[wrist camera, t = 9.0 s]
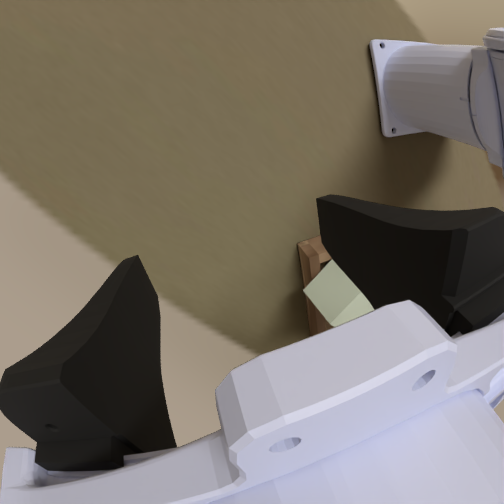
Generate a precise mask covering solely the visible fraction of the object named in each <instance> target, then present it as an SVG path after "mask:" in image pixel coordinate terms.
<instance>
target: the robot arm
mask: <svg viewBox="0 0 504 504" xmlns="http://www.w3.org/2000/svg"><path fill="white" fill-rule="evenodd" d="M483 42H484V45H485V46H474V45H437V44H430V43H421V42H410V41H397V40H371V41H370V51H371V56H372V61H373V67H374V73H375V79H376V86H377V93H378V100H379V108H380V117H381V126H382V133H383V135H384V136H385V137H394V136H400V135H406V134H412V133H418V132H425V131H427V132H431V133H434V134H437V135H441V136H444V137H447V138H450V139H454V140H457V141H460V142H463V143H466V144H469V145H472V146H474V147H477V148H480V149H483V150H485V151H487V153H488V157H489V162H490V163H492V164H495V165H497V166H499V167H502V173H503V178H504V28H491V29H489V30H488V31H487V33H486V35H484V36H483ZM380 44H381V45H382V48H381V47H380ZM392 128H393V129H394V130H393V132H392ZM316 201H317V209H318V217H319V225H320V234H321V243H322V244H323V246H324V247H325V249H326V251H327V252H328V254H329V255H330V257H331V258H332V259H333V261H334V262H335V263H336V264H337V265H338V266H339V268H340V269H341V270H342V271H343V272H344V273H345V274H346V275H347V277H348V278H349V279H350V280H351V281H352V282H353V283H354V284H355V286H356V287H357V288H358V289H359V290H360V291H361V292H362V293H363V295H364V296H365V297H366V298H367V300H368V301H369V302H370V304H371V305H372V307H373V308H374V310H373V311H371V312H369V313H367V314H364V315H362V316H360V317H357V318H355V319H353V320H350V321H348V322H346V323H343V324H341V325H338V326H336V327H334V328H331V329H329V330H326V331H324V332H321V333H319V334H316V335H313V336H311V337H308V338H306V339H303V340H300V341H298V342H295V343H292V344H289V345H287V346H284V347H281V348H278V349H275V350H273V351H270V352H267V353H264V354H261V355H259V356H257V357H255V358H253V359H251V360H249V361H247V362H245V363H244V364H241V365H240V366H238V367H236V368H234V369H233V370H231V371H230V372H229V374H228V375H227V376H226V377H225V379H224V380H223V381H222V382H221V383H220V385H219V386H218V387H217V388H216V389H215V394H216V406H217V411H218V415H219V420H220V424H221V429H220V430H218V431H216V432H214V433H211V434H209V435H207V436H204V437H202V438H200V439H198V440H195V441H193V442H191V443H188V444H186V445H183V446H181V447H177V445H176V442H175V439H174V435H173V431H172V427H171V423H170V419H169V414H168V410H167V405H166V400H165V395H164V388H163V382H162V375H161V363H160V310H159V302H158V296H157V294H156V292H155V290H154V288H153V285H152V283H151V281H150V279H149V277H148V275H147V273H146V271H145V269H144V267H143V265H142V262H141V260H140V258H139V256H138V255H136V256H133V257H130V258H127V259H125V260H123V261H122V262H121V263H120V264H119V265H118V266H117V267H116V269H115V270H114V271H113V272H112V274H111V275H110V276H109V277H108V279H107V280H106V281H105V282H104V284H103V285H102V286H101V288H100V289H99V290H98V291H97V292H96V293H95V295H94V296H93V297H92V298H91V299H90V301H89V302H88V303H87V304H86V306H85V307H84V308H83V309H82V310H81V311H80V312H79V313H78V314H77V315H76V316H75V317H74V318H73V319H72V320H71V321H70V322H69V323H68V324H67V325H66V326H65V327H64V328H62V329H61V330H60V331H59V332H58V333H57V334H56V335H55V336H53V337H52V338H51V339H50V340H49V341H47V342H46V343H45V344H43V345H42V346H41V347H40V348H38V349H37V350H36V351H34V352H33V353H31V354H30V355H28V356H27V357H25V358H23V359H22V360H20V361H19V362H17V363H15V364H14V365H12V366H10V367H9V368H7V369H5V371H4V374H3V376H2V379H1V382H0V410H1V411H2V413H3V414H4V415H5V416H6V417H7V418H8V419H9V420H10V421H11V422H12V423H13V424H14V425H15V426H17V427H18V428H19V429H20V430H22V431H23V432H25V434H27V435H28V436H30V437H31V438H32V439H33V440H35V441H36V442H37V446H36V450H33V449H30V448H26V447H7V448H6V453H5V460H4V466H3V474H2V483H1V493H0V504H504V423H503V422H502V421H501V419H500V418H499V417H498V415H497V414H496V413H495V411H494V410H493V409H494V408H495V407H496V406H497V405H498V404H499V403H500V402H501V401H502V400H503V399H504V212H503V211H501V210H499V209H497V208H495V207H488V208H480V209H472V210H456V211H435V210H417V209H408V208H400V207H394V206H388V205H383V204H378V203H373V202H368V201H364V200H359V199H355V198H350V197H345V196H340V195H327V196H323V197H320V198H316Z"/></svg>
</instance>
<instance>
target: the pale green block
mask: <svg viewBox="0 0 504 504" xmlns="http://www.w3.org/2000/svg"><path fill="white" fill-rule="evenodd" d="M303 291H304V292H305V294H306V295H307V296H308V297H309V299H310V300H311V301H312V302H313V304H314V305H315V306H316V307H317V309H318V310H319V311H320V312H321V314H322V315H323V316H324V317H325V319H326V320H327V321H328V322H329V324H331V325H332V326H334V327H336V326H338V325H341V324H343V323H346V322H348V321H350V320H353V319H355V318H357V317H360V316H362V315H364V314H367V313H369V312H371V311H373V310H374V308H373V307H372V305H371V304H370V302H369V301H368V300H367V298H366V297H365V296H364V295H363V293H362V292H361V291H360V290H359V289H358V288H357V287H356V286H355V284H354V283H353V282H352V281H351V280H350V279H349V278H348V277H347V275H346V274H345V273H344V272H343V271H342V270H341V269H340V268H339V266H338V265H337V264H336V263H335V262H334V261H333V259H332V260H331V261H330V262H329V263H328V264H327V265H326V266H325V267H324V268H323V269H322V271H321V272H320V273H319V274H318V275H317V276H316V277H315V278H314V279H313V280H312V281H311V282H310V283H309V284H308V285H307V287H306V288H305V289H304V290H303Z"/></svg>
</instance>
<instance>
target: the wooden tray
mask: <svg viewBox="0 0 504 504" xmlns="http://www.w3.org/2000/svg"><path fill="white" fill-rule="evenodd" d="M297 245H298V252H299V258H300V265H301V271H302V278H303V285H304V289H305V288H306V287H307V285H308V284H309V283H310V282H311V281H312V280H313V279H314V278H315V277H316V276H317V275H318V274H319V273H320V272H321V271H322V269H323V268H324V267H325V266H326V265H327V264H328V263H329V262H330V261H331V260H332V258H331V257H330V255H329V254H328V252H327V251H326V249H325V247H324V246H323V244H322V243H321V236H318V237H314V238H311V239H308V240H305V241H302V242H299V243H297ZM305 299H306V306H307V313H308V321H309V329H310V337H311V336H313V335H316V334H319V333H321V332H324V331H326V330H329V329H331V328H334V326H332V325H331V324H329V322H328V321H327V320H326V319H325V317H324V316H323V315H322V314H321V312H320V311H319V310H318V309H317V307H316V306H315V305H314V304H313V302H312V301H311V300H310V299H309V297H308V296H307V295H306V294H305Z"/></svg>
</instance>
